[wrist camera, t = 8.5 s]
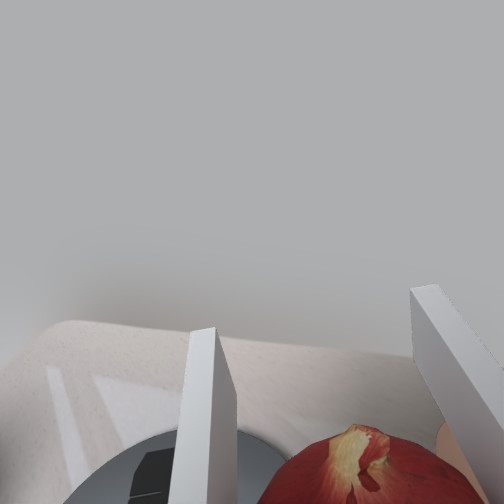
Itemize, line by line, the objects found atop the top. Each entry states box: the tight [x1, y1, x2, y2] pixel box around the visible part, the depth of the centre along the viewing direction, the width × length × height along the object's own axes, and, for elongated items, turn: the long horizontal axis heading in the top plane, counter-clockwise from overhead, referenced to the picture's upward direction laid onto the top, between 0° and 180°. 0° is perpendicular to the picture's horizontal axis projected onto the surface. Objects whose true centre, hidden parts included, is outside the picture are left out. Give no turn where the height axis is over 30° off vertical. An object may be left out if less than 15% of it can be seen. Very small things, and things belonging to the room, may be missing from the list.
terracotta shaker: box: [436, 421, 490, 504], centre depth 23 cm, size 5×5×7 cm
